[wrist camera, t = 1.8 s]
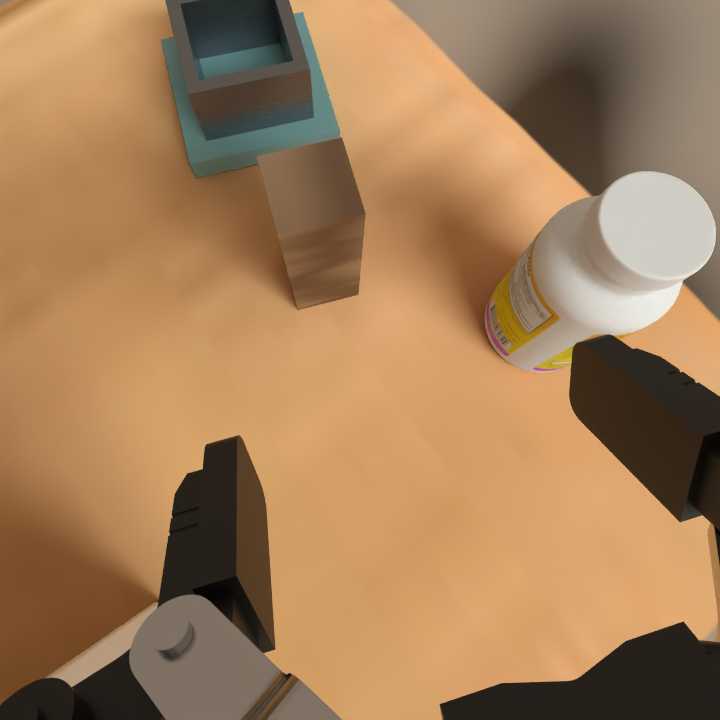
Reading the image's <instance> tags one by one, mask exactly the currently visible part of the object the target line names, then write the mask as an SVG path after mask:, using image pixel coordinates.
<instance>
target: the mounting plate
mask: <svg viewBox="0 0 720 720" xmlns="http://www.w3.org/2000/svg"><path fill="white" fill-rule="evenodd" d="M293 15H294V18H295V21H296V25H297V28H298V31H299V34H300V38H301V41H302V44H303V47H304V51H305V54H306V57H307V61H308V64H309V67H310V73H311V86H312V98H313V110H314V118H311V119H307V120H302V121H297V122H293V123H288V124H284V125H279V126H274V127H270V128H265V129H260V130H256V131H251V132H246V133H242V134H237V135H233V136H228V137H223V138H219V139H214V140H209V141H207V140H206V137H205V135H204V133H203V130H202V128H201V125H200V123H199V120H198V118H197V115H196V113H195V111H194V108H193V106H192V103H191V101H190V98H189V96H188V93H187V89H186V84H185V80H184V76H183V72H182V68H181V63H180V59H179V55H178V51H177V47H176V42H175V38H174V37H172V38H167V39H162V40H161V41H162V46H163V50H164V54H165V59H166V63H167V67H168V72H169V76H170V80H171V85H172V89H173V93H174V98H175V102H176V106H177V111H178V115H179V119H180V124H181V128H182V132H183V137H184V141H185V145H186V149H187V154H188V158H189V162H190V165H191V167H192V169H193V171H194V173H195V175H196V177H197V178H198V177H203V176H207V175H212V174H216V173H221V172H225V171H230V170H234V169H239V168H243V167H248V166H252V165H257V164H258V161H257V157H256V156H260V155H265V154H269V153H274V152H278V151H283V150H287V149H292V148H296V147H301V146H305V145H310V144H315V143H319V142H324V141H328V140H333V139H337V138H340V130H339V127H338V123H337V120H336V117H335V114H334V111H333V107H332V104H331V101H330V98H329V95H328V91H327V88H326V85H325V82H324V79H323V75H322V72H321V69H320V66H319V63H318V59H317V56H316V53H315V50H314V47H313V43H312V40H311V37H310V34H309V31H308V27H307V24H306V21H305V18H304V14H303V12H301V13H296V14H293ZM199 60H200V64H201V68H202V72H203V76H204V79H207V78H212V77H217V76H221V75H226V74H231V73H236V72H241V71H246V70H251V69H256V68H261V67H266V66H271V65H276V64H280V63H285V60H284V56H283V53H282V49H281V46H280V43H278V44H273V45H268V46H263V47H258V48H253V49H248V50H243V51H238V52H233V53H228V54H223V55H218V56H213V57H208V58H203V59H199Z"/></svg>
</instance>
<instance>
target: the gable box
mask: <svg viewBox="0 0 720 720" xmlns="http://www.w3.org/2000/svg"><path fill="white" fill-rule="evenodd" d="M157 606H158V602H154V603H153V604H151V605H150V606H148V607H147V608H146V609H144V610H143V611H141V612H140V613H138V614H137V615H135V616H134V617H132V618H131V619H130V620H128V621H127V622H125V623H124V624H122V625H121V626H119V627H118V628H116V629H115V630H114V631H112V632H111V633H109V634H108V635H106V636H105V637H103V638H102V639H100V640H99V641H98V642H96V643H95V644H93V645H92V646H90V647H89V648H87V649H86V650H84V651H83V652H82V653H80V654H79V655H77V656H76V657H74V658H73V659H71V660H70V661H68V662H67V663H66V664H64V665H63V666H61V667H60V668H58V669H57V670H55V671H54V672H52V673H51V674H50V675H48V676H47V677H45V678H59V679H62V680H64V681H65V682H67V683H68V684H69V685H70V686H71V687H73V686H74V685H76V684H78V683H79V682H81V681H82V680H84V679H85V678H87V677H89V676H90V675H92V674H93V673H95V672H97V671H98V670H100V669H101V668H103V667H104V666H106V665H108V664H109V663H111V662H112V661H114V660H115V659H117V658H118V657H120V656H121V655H123V654H124V653H125V652H126V651H127V650H129V649H130V648H131V645H132V642H133V639H134V637H135V635H136V633H137V631H138V629H139V628H140V626H141V625H142V623H143V622H144V621H145V620H146V618H147V617H148V616H149V615H150V614H151V613H152V612H153V611H154V610H156V609H157Z"/></svg>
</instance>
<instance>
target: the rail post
mask: <svg viewBox="0 0 720 720" xmlns="http://www.w3.org/2000/svg"><path fill="white" fill-rule="evenodd" d="M256 157H257V161H258V165H259V168H260V172H261V176H262V180H263V183H264V187H265V191H266V195H267V198H268V202H269V206H270V210H271V213H272V217H273V221H274V225H275V228H276V232H277V236H278V240H279V243H280V247H281V251H282V254H283V258H284V262H285V265H286V269H287V273H288V276H289V280H290V283H291V287H292V291H293V294H294V298H295V302H296V305H297V309H298V310H299V309H303V308H307V307H311V306H315V305H319V304H323V303H327V302H331V301H335V300H339V299H343V298H347V297H351V296H355V295H358V292H359V281H360V270H361V259H362V247H363V236H364V225H365V210H364V207H363V204H362V201H361V198H360V194H359V191H358V188H357V185H356V182H355V178H354V175H353V172H352V169H351V166H350V162H349V159H348V156H347V153H346V150H345V146H344V143H343V140H342V138H337V139H333V140H328V141H324V142H319V143H315V144H310V145H305V146H301V147H296V148H292V149H287V150H283V151H278V152H274V153H269V154H265V155H260V156H256Z"/></svg>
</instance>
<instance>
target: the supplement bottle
mask: <svg viewBox="0 0 720 720" xmlns="http://www.w3.org/2000/svg"><path fill="white" fill-rule="evenodd" d="M715 238H716V229H715V223H714V219H713V216H712V213H711V211H710V209H709V207H708V205H707V204H706V202H705V201H704V200H703V198H702V197H701V196H700V195H699V194H698V193H697V192H696V191H695V190H694V189H693V188H692V187H690V186H689V185H688V184H687V183H685V182H683V181H682V180H680V179H678V178H676V177H673V176H671V175H668V174H665V173H660V172H652V171H642V172H634V173H631V174H628V175H625V176H623V177H621V178H619V179H618V180H616V181H614V182H613V183H612V184H611V185H610V186H609V187H608V188H607V189H606V190H605V191H604V192H603V193H602V194H601V195H600V196H594V197H589V198H584V199H581V200H578V201H575V202H573V203H571V204H569V205H568V206H566V207H564V208H563V209H561V210H560V211H559V212H557V213H556V214H555V215H554V216H553V217H552V218H551V219H550V220H549V222H548V223H547V224H546V225H545V226H544V227H543V228H542V230H541V231H540V232H539V234H538V235H537V236H536V238H535V239H534V240H533V241H532V243H531V244H530V245H529V246H528V248H527V249H526V250H525V251H524V253H523V254H522V255H521V256H520V258H519V259H518V260H517V261H516V263H515V264H514V265H513V266H512V268H511V269H510V270H509V272H508V273H507V274H506V275H505V277H504V278H503V279H502V280H501V282H500V283H499V284H498V285H497V287H496V288H495V290H494V291H493V293H492V294H491V296H490V298H489V300H488V303H487V306H486V310H485V327H486V332H487V335H488V338H489V340H490V342H491V344H492V346H493V347H494V349H495V350H496V351H497V352H498V353H499V355H500V356H501V357H502V358H504V359H505V360H506V361H507V362H509V363H510V364H512V365H514V366H516V367H518V368H520V369H523V370H526V371H531V372H539V373H542V372H551V371H556V370H559V369H561V368H564V367H566V366H568V365H570V364H571V363H572V351H573V347H574V345H575V344H576V343H577V342H581V341H584V340H588V339H591V338H595V337H599V336H602V335H606V334H610V335H613V336H615V337H616V338H617V339H619V340H620V339H622V338H624V337H626V336H628V335H630V334H632V333H634V332H637V331H639V330H641V329H643V328H645V327H647V326H648V325H650V324H652V323H654V322H655V321H657V320H658V319H660V318H661V317H662V316H663V315H664V314H665V313H666V312H667V311H668V310H669V309H670V308H671V306H672V305H673V304H674V302H675V300H676V298H677V296H678V294H679V292H680V289H681V286H682V282H683V280H684V279H686V278H687V277H689V276H690V275H692V274H693V273H695V272H696V271H698V270H699V269H700V268H701V267H702V266H703V265H704V264H705V263H706V262H707V260H708V259H709V258H710V256H711V254H712V251H713V248H714V245H715Z"/></svg>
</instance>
